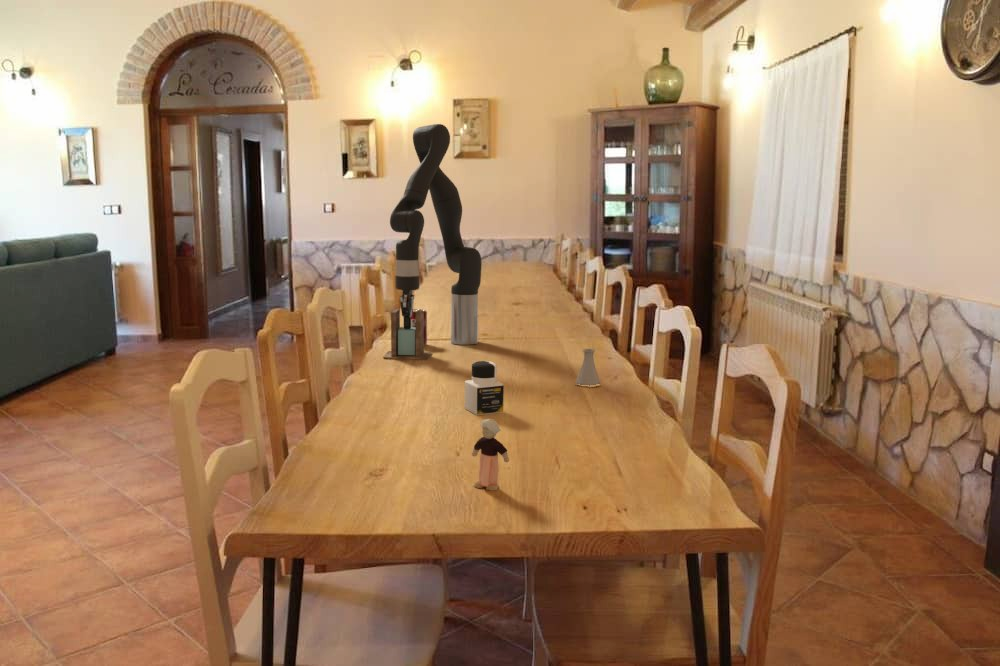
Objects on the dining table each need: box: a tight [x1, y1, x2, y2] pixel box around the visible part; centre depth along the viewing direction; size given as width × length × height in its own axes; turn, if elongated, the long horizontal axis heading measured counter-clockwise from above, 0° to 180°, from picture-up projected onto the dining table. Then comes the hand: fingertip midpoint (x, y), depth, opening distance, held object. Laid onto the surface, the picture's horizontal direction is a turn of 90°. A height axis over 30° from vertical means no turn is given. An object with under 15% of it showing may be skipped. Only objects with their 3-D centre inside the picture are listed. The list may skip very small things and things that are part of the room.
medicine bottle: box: [464, 360, 505, 417], centre depth 202 cm, size 7×7×12 cm
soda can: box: [411, 308, 428, 347], centre depth 287 cm, size 7×7×12 cm
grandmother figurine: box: [471, 418, 510, 492], centre depth 150 cm, size 8×4×13 cm, turn 69°
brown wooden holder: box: [382, 308, 432, 361], centre depth 267 cm, size 14×10×15 cm
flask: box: [575, 348, 601, 386], centre depth 231 cm, size 7×7×10 cm
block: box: [398, 326, 416, 355], centre depth 268 cm, size 5×5×8 cm
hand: (407, 328), depth 267 cm, fingers closed
